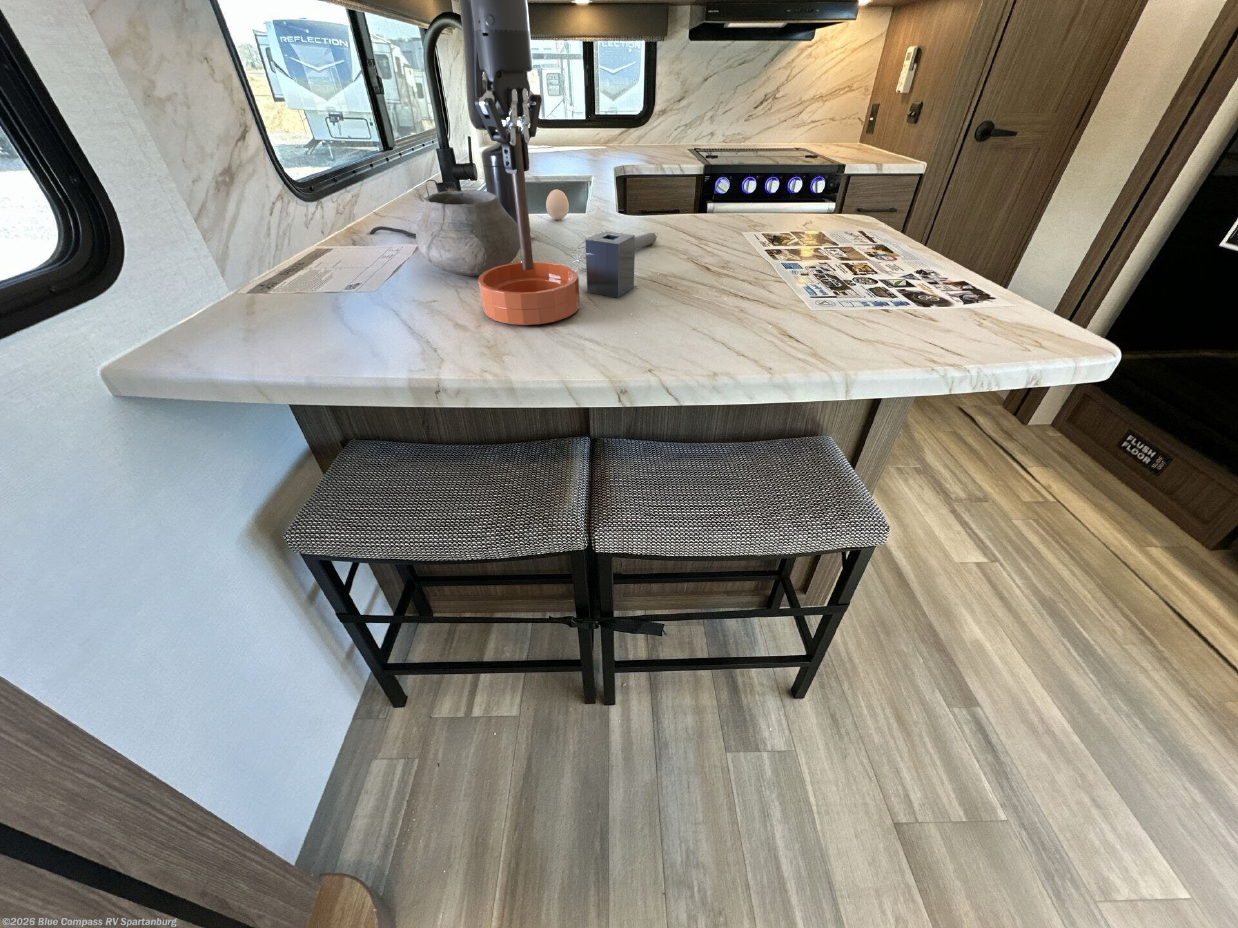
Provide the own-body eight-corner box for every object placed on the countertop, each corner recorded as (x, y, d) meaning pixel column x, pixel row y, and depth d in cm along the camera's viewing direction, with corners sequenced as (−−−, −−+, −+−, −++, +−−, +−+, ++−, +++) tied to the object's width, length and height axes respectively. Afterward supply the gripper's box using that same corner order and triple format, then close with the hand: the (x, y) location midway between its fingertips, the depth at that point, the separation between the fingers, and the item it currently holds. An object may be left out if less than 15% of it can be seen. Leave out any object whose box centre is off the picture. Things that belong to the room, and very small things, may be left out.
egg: (574, 219, 149) (572, 189, 144) (558, 223, 145) (556, 192, 140) (558, 216, 152) (556, 186, 147) (542, 220, 148) (539, 189, 143)
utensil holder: (587, 292, 101) (585, 239, 95) (604, 281, 106) (603, 231, 100) (618, 298, 98) (618, 244, 92) (633, 287, 103) (635, 235, 97)
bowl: (463, 316, 91) (457, 283, 87) (522, 287, 103) (518, 256, 100) (544, 335, 85) (541, 300, 81) (596, 301, 97) (595, 270, 93)
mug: (464, 225, 143) (456, 177, 136) (464, 230, 139) (455, 181, 132) (435, 226, 142) (425, 178, 134) (434, 231, 138) (424, 182, 130)
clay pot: (537, 260, 117) (530, 188, 108) (502, 291, 101) (491, 209, 92) (451, 254, 121) (437, 184, 112) (404, 283, 105) (383, 204, 95)
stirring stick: (520, 269, 89) (504, 135, 77) (527, 266, 90) (512, 133, 78) (529, 271, 88) (515, 135, 76) (536, 267, 90) (523, 134, 77)
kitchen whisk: (666, 243, 129) (668, 216, 125) (589, 280, 107) (588, 249, 103) (646, 239, 132) (647, 213, 128) (567, 275, 110) (565, 244, 106)
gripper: (511, 31, 76) (524, 164, 86) (446, 26, 66) (470, 176, 77) (552, 30, 73) (561, 168, 84) (491, 24, 63) (510, 181, 74)
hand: (517, 171), depth 80 cm, fingers closed on stirring stick, 2 cm apart
